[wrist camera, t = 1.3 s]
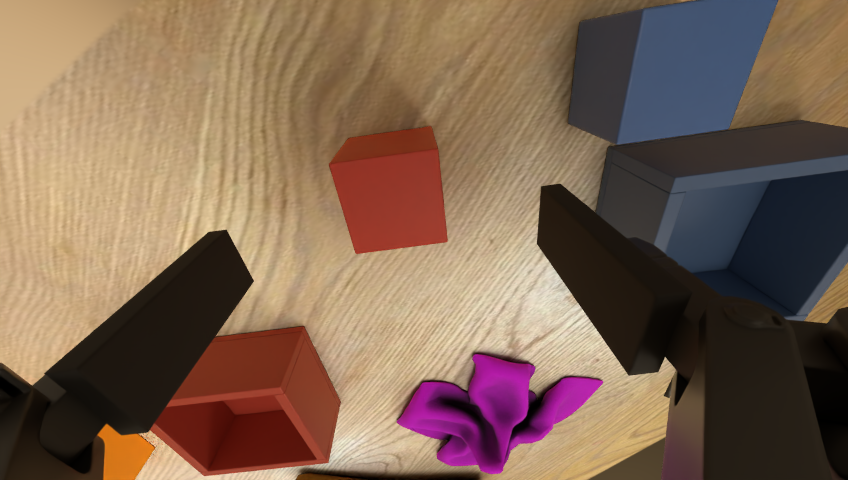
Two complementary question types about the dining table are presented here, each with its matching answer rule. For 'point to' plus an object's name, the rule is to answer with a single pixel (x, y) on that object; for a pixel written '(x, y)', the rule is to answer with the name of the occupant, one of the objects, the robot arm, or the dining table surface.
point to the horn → (322, 477)
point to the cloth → (492, 412)
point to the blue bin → (740, 208)
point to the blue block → (665, 68)
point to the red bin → (253, 405)
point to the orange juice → (123, 454)
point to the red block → (391, 190)
